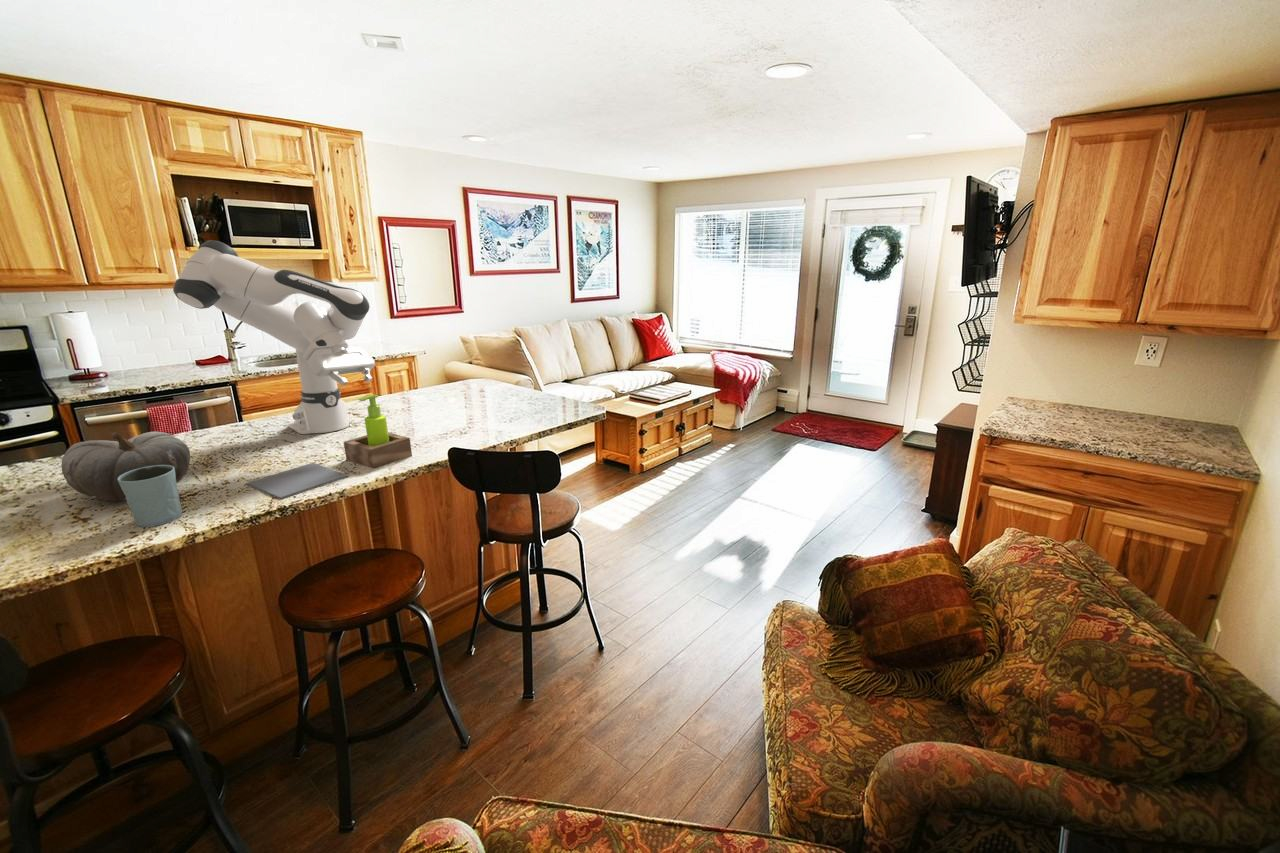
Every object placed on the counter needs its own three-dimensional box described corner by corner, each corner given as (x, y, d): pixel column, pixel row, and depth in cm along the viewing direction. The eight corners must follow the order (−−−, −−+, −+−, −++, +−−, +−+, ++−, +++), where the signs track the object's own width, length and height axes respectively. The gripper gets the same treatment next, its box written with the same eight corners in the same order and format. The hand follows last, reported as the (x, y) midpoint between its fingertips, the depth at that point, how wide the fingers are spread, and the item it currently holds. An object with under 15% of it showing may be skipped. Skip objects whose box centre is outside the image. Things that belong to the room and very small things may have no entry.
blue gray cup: (180, 506, 138) (168, 461, 135) (191, 517, 132) (179, 471, 129) (127, 520, 131) (113, 473, 127) (136, 533, 125) (121, 484, 121)
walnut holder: (346, 460, 169) (343, 441, 167) (384, 448, 180) (382, 430, 178) (374, 469, 162) (371, 449, 160) (412, 456, 173) (409, 437, 171)
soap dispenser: (363, 460, 169) (353, 397, 163) (382, 453, 175) (373, 392, 169) (376, 463, 167) (366, 399, 161) (395, 456, 172) (386, 394, 166)
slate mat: (246, 484, 151) (246, 482, 151) (313, 464, 166) (312, 462, 165) (280, 499, 142) (280, 497, 142) (347, 476, 156) (347, 474, 156)
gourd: (39, 493, 139) (37, 427, 136) (153, 474, 162) (153, 416, 159) (103, 518, 132) (102, 448, 129) (212, 494, 155) (214, 434, 152)
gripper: (354, 352, 181) (378, 384, 181) (297, 356, 163) (324, 393, 162) (363, 339, 179) (388, 372, 178) (307, 342, 160) (334, 379, 159)
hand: (357, 382), depth 170 cm, fingers open, 8 cm apart
